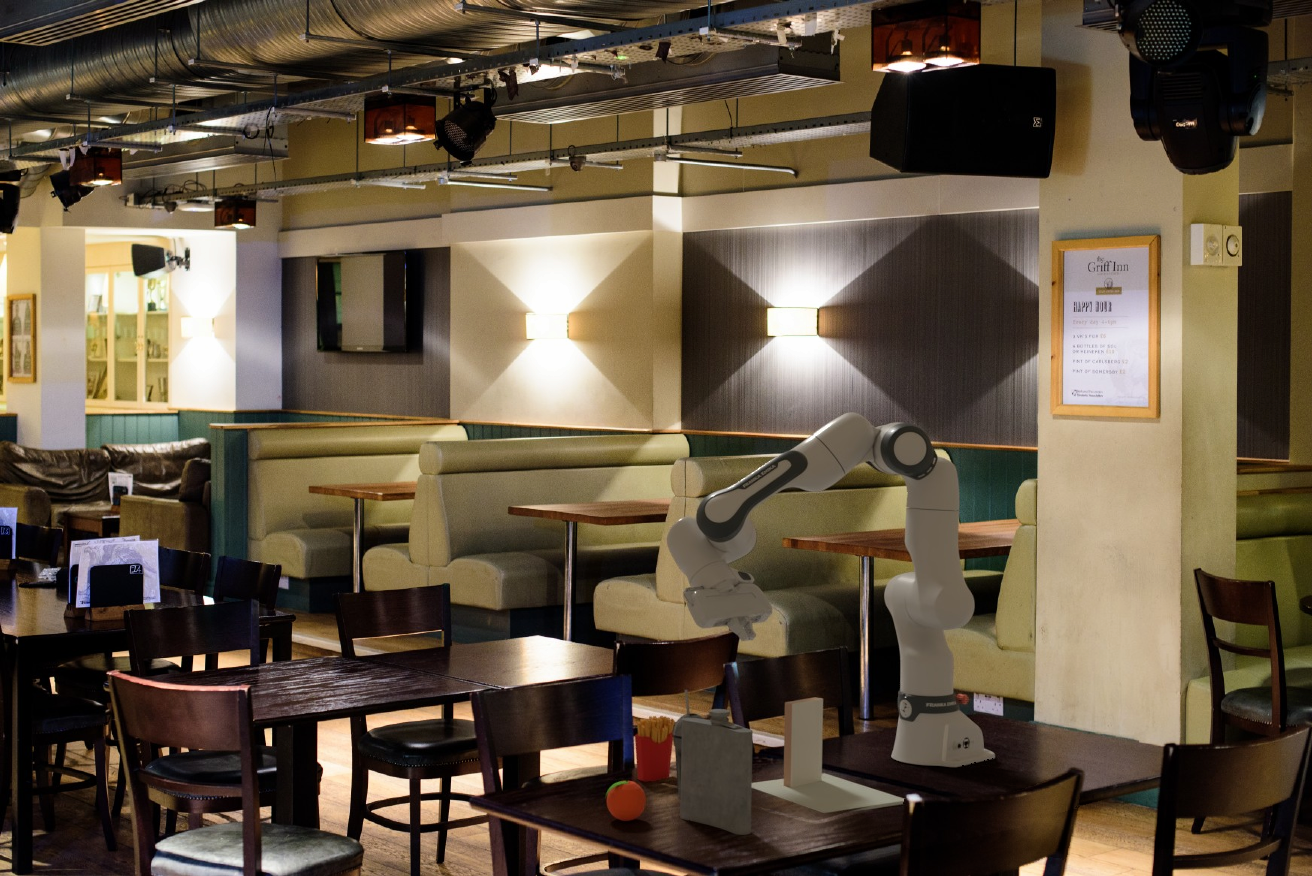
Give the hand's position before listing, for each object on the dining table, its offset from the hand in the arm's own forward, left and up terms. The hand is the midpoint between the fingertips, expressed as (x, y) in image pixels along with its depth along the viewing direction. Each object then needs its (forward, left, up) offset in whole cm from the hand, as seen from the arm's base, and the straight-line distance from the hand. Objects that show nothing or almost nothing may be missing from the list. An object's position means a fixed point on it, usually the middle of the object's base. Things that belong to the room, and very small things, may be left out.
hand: (749, 638), depth 308 cm
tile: (-3, +14, -26) cm, 30 cm away
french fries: (+19, -5, -27) cm, 34 cm away
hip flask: (+28, +30, -27) cm, 49 cm away
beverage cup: (+21, +11, -27) cm, 36 cm away
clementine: (+41, +20, -27) cm, 53 cm away
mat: (-2, +22, -27) cm, 35 cm away
